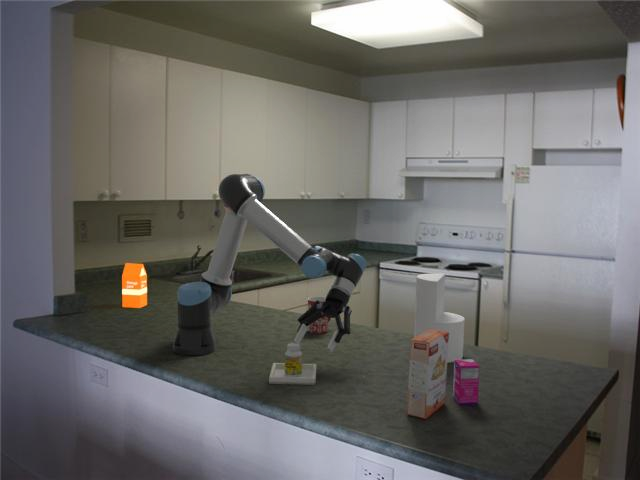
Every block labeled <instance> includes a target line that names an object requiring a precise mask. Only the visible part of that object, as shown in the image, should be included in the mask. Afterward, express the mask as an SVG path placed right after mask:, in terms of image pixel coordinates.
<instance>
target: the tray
mask: <svg viewBox="0 0 640 480" xmlns="http://www.w3.org/2000/svg"><path fill="white" fill-rule="evenodd" d="M270 370H271V371H270V373H269V377H268V384H270V385H274V384H275V385H303V386H304V385H305V386H309V385H310V386H316V379H317V364H316V363H302V374H301V375H300V376H298V377H289V376H286V375H285V362H273V363H272V366H271V369H270Z"/></svg>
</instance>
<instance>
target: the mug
mask: <svg viewBox="0 0 640 480" xmlns="http://www.w3.org/2000/svg"><path fill="white" fill-rule="evenodd" d="M317 300H318V301H319V302H320V303H324V302H325V300H326V296H311V297H308V298H307V308H308V309H307V310H309V309H310V308H311V307H312V306H313V305H314V304H315V302H316V301H317ZM321 313H322V314H323V311H322V312H321ZM331 319H332V318H331V317H326V316H325V317H324V318H320V319H318V320H317V321H315V322H313V323H312V324H310V325H309V326H308V330H309V333H311V334H314V335H315V334H317V335H321V334H326V333H327V332H328V325H329V322H330V320H331Z"/></svg>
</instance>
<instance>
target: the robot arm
mask: <svg viewBox="0 0 640 480" xmlns="http://www.w3.org/2000/svg"><path fill="white" fill-rule="evenodd" d="M265 194H266V193H265V185H264V183H263V182H262V180H261V179H260V178H259V177H257V176H255V175H252V174H249V173H243V174H242V173H241V174H240V173H239V174H237V173H236V174H235V173H233V174H230V175H227V176H225V177H224V178H223V179H222V180H221V181H220V183H219V186H218V196H219V199H220V200H221V202H222V203H223V208H224V210H225V214H224V217H223V220H222V223H221V226H220V229H219V233H218V235H217V240H216V242H215V245H214V247H213V248H214V249H213V251H212V255H211V258H210V261H209V265H208V268H207V270H206V271H204V272H202V274H201V277H200V280H199V281H192V282H186V283H184V284H182V285H180V286H179V287H178V289H177V297H176V302H177V303H176V304H177V305H176V306H177V330H176V332H175V336H174V340H173V343H172V352H174V353H175V354H177V355H181V356H201V355H207V354H211V353H214V352H215V351H216V349H217V342H216V339H215V335H214V333H213V330H212V315H213V314H215V313H217V312H220V311H221V310H223V309H224V308H226V307H227V306H228V305H229V304H230V302H231V301H232V300H231V299H232V296H233V292H232V289H231V288H232V284H233V281H232V279H231V274H232V270H233V268H234V265H235V261H236V259H237V255H238V252H239V249H240V246H241V243H242V240H243V236H244V233H245V231H246V227H247V224H248V223H250V224H251V225H252V226H253V227H254V228H255V229H257V231H259V232H260V233H261V234H262V235H263V236H265V238H266V239H268V240H270V242H272V243H273V244H274V245H275V246H276V247H277V248H279V250H280V251H282V252H283V253H284V254H286V256H288V257H289V258H290V259H291V260H292V261H293V262H294V263H295V264H297V265H298V266H300V268H301V271H302V274H304V276H306V278H309V279H319V278H320V277H322V276H324V275H325V274H329V275H332V276H334V277H335V280H334V281H333V283H332V285H331V287H330V289H329V291H328V292H327V294H326V296H325V297H326V300H325V302H324V303H320V302H319V301H318V300H317V301H316V302H315V304H314V305H313V306H312V307H311V308H310V309H309V310H308V309H307V310H306V311H305V312H304V313H303V314H302V315H301V316H300V317H298V318H297V322H298V323H299V324H300V325H299V326H298V328H297V330H296V332H297V333H296V336H295V337H294V338H293V341H294V343H297V344H301V341H302V340H303V338H304V336H305V335H306V333H307V331H308V330H309V325H310V324H312V323H313V322H315V321H317V320H318V319H320V318H324V317H325V316H326V317H331V319H335V323H336V327H337V330H335V331H334V333H333V335H332V336H331V338H330V341H329V343H328V345H327V349H328V351H329V352H330V353H333V352H334V350H335V348H336V346H337V344H339V343H340V342H341V340H342V338H343V336H344V335H347V336H348V335H350V334H351V314H352V309H351V308H350V306H349V305H348V304H349V301H350V299H351V297H352V295H353V293H354V292H355V289H356V288H357V286H358V284H359V282H360V280H361V279H362V276H364V275H363V274H364V272H365V270H366V267H367V261H366V259H365V258H364V257H363V256H362V255H360V254H357V253H350V254H348V255H347V256H343V255H341V254H338V253H336V252H334V251H331V250H330V249H328V248H326V247H322V246H319V245H314V247H313V246H312V245H311V244H310V243H308V242H307V241H306V240H305V239H303V238H302V237H301V236H300V235H299V234H298V233H296V231H295V230H293V229H292V228H291V227H289V226H288V224H286V223H285V222H284V221H282V220H281V219H280V218H279V217H278V216H277V215H276V214H274V213H273V212H272V211H271V210H270V209H269V208H267V207H266V206H265V205H264V204H263V203H262V201H263V200H264V198H265ZM322 311H323V314H322V313H321V312H322ZM342 313H343V322H342V317H341V314H342ZM342 323H343V324H342Z"/></svg>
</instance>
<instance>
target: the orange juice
mask: <svg viewBox="0 0 640 480" xmlns="http://www.w3.org/2000/svg"><path fill="white" fill-rule="evenodd" d="M121 288H122V290H121V295H122V299H121V300H122V305H121V306H122V308H134V309H141V308H143V307H145V306H147V305H148V275H147V271H146V269H145V266H144V263H128V262H126V263H125V264H124V268H123V271H122V275H121Z"/></svg>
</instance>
